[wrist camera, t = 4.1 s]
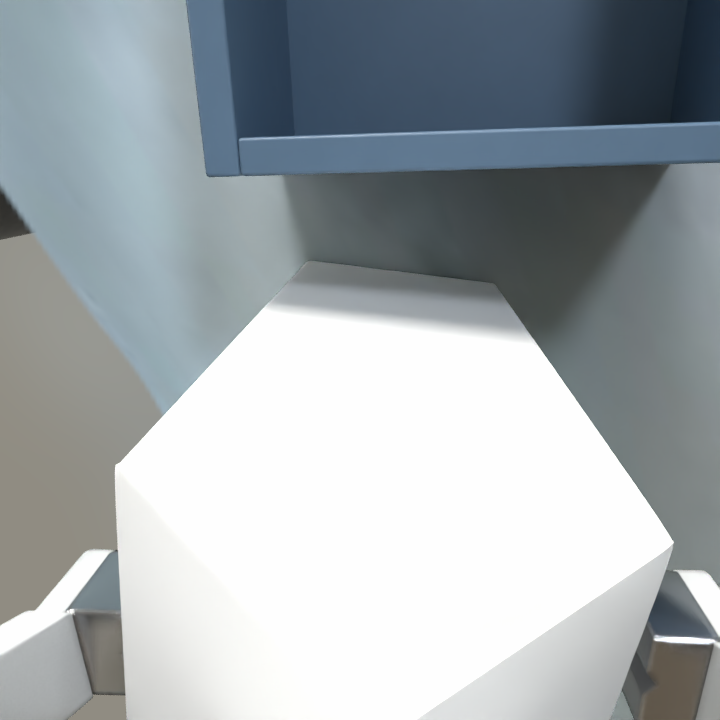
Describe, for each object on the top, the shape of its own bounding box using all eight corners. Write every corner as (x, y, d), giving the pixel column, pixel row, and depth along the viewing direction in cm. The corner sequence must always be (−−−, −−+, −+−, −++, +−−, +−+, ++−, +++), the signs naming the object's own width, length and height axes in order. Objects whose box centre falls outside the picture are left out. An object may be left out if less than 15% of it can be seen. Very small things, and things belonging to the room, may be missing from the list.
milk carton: (294, 426, 24) (-50, 1264, 6) (306, 258, 21) (-231, 819, 3) (462, 448, 23) (648, 1396, 6) (495, 281, 21) (1030, 1023, 3)
